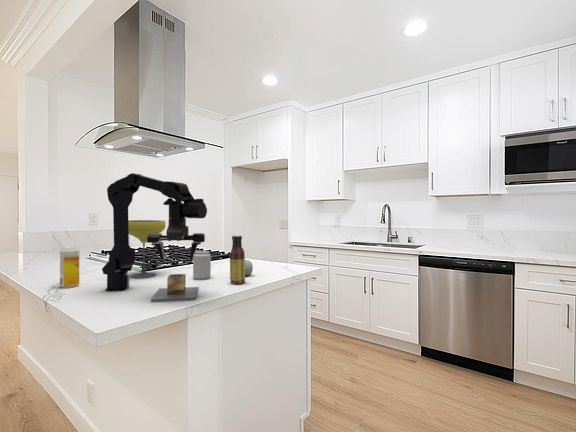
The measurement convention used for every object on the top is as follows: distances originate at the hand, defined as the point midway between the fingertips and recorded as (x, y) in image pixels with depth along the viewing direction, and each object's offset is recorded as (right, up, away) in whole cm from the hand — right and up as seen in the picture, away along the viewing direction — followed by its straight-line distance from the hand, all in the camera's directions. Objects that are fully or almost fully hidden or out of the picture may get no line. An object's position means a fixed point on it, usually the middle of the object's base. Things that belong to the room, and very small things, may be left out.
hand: (177, 262), depth 108 cm
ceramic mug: (+17, -12, +35) cm, 41 cm away
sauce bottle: (+18, -12, +20) cm, 29 cm away
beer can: (-46, -11, +11) cm, 48 cm away
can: (+1, -12, +28) cm, 30 cm away
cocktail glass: (-26, -11, +31) cm, 43 cm away
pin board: (0, -12, 0) cm, 12 cm away
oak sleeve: (0, -11, 0) cm, 11 cm away
